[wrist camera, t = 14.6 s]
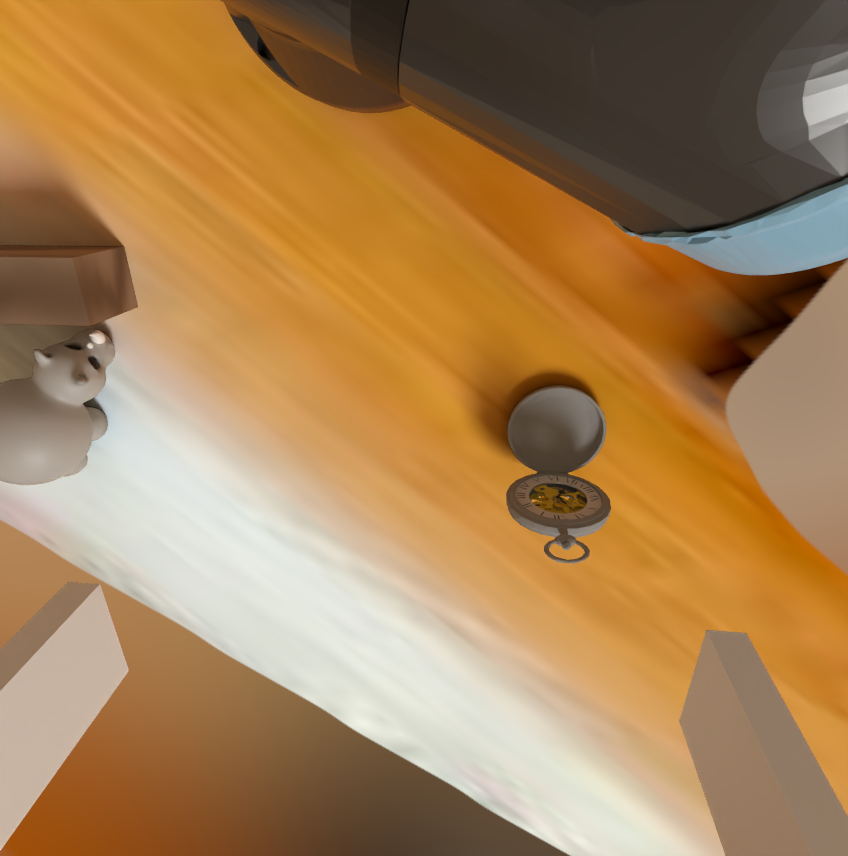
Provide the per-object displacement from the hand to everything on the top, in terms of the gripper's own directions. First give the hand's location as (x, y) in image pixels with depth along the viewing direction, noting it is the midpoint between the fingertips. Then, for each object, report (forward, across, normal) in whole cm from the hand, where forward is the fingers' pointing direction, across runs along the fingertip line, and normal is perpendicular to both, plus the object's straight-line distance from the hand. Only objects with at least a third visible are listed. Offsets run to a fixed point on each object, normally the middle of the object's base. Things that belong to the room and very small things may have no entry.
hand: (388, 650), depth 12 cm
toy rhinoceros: (+27, -28, -5) cm, 39 cm away
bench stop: (+27, -29, +3) cm, 40 cm away
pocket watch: (+27, +7, -8) cm, 29 cm away
